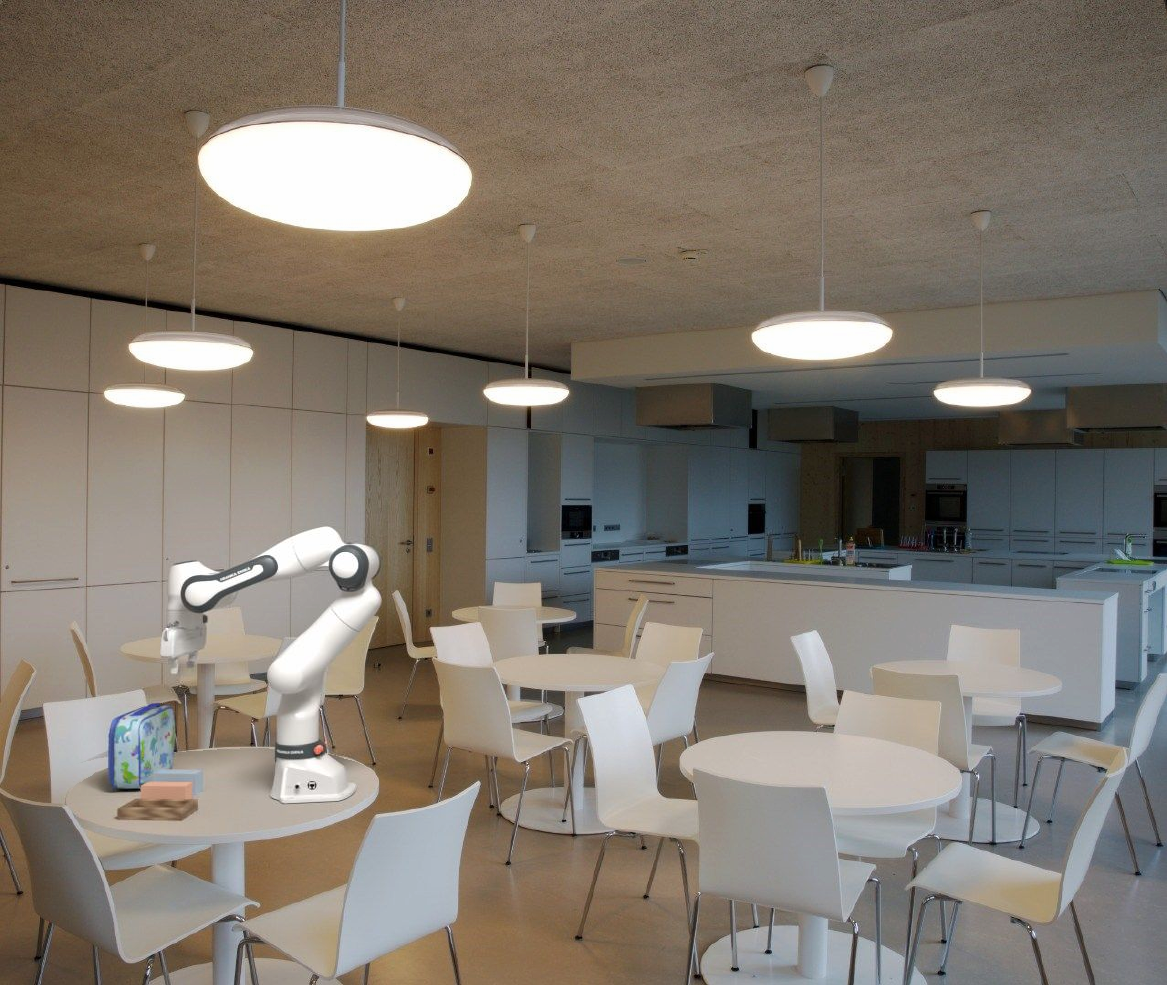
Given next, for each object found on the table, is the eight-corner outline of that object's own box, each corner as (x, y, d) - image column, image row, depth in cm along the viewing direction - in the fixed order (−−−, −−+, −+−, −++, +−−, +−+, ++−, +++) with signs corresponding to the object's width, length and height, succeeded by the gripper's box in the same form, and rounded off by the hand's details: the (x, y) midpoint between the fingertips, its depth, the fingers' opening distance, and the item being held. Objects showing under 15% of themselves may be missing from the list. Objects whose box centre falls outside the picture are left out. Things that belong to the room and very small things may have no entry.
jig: (197, 809, 239) (197, 799, 239) (181, 820, 231) (181, 809, 231) (135, 808, 240) (135, 798, 240) (117, 819, 232) (117, 808, 232)
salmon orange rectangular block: (192, 800, 247) (192, 781, 247) (185, 805, 243) (185, 786, 243) (148, 800, 248) (148, 781, 248) (140, 805, 244) (140, 785, 244)
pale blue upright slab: (202, 791, 255) (202, 769, 255) (195, 796, 251) (195, 773, 251) (160, 791, 256) (160, 769, 256) (152, 795, 252) (153, 773, 252)
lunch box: (142, 769, 278) (142, 698, 279) (179, 768, 279) (179, 698, 279) (102, 795, 252) (102, 717, 253) (142, 794, 253) (143, 716, 253)
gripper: (177, 624, 245) (176, 677, 244) (211, 616, 265) (210, 664, 265) (154, 624, 245) (153, 676, 245) (189, 615, 265) (188, 664, 265)
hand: (183, 670), depth 255 cm, fingers open, 8 cm apart
